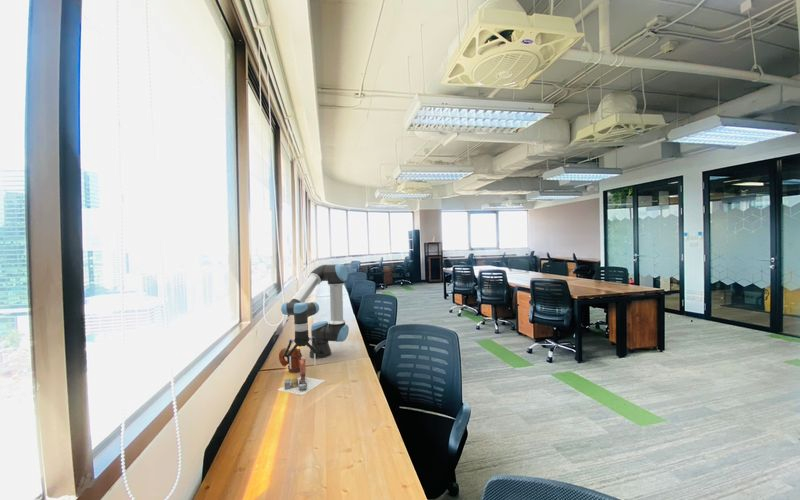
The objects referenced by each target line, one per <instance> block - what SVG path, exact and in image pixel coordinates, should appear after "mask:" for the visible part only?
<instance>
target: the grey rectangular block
mask: <svg viewBox="0 0 800 500" xmlns="http://www.w3.org/2000/svg"><path fill="white" fill-rule="evenodd" d="M291 380H292V379H291V378H287V379H284V383H283V384H284V387H285V390H286V389H291Z"/></svg>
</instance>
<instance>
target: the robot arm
mask: <svg viewBox="0 0 800 500" xmlns="http://www.w3.org/2000/svg"><path fill="white" fill-rule="evenodd" d="M347 279H348V270H347V268H346V266H345V265H343V264H340V263H338V264H337V263H336V264H321V265H319V266H317V267H315V268H314V269H313V270H311V271H310V273H309V274H308V275H307V279H306V280H305V281H304V282H303V284H302V285H301V287H300V288H299V289H298V290H297V291H296V293H295V294H294V295H293V297H292V298H291V299H290V301H287V302H284V303H282V304H281V308H280V311H281V313H282V314H283V315H287V316H293V318H294V319H293V320H294V322H293V324H294V325H293V326H294V327H293V328H294V338H293V339H291V338H290V339H288V345H287V347H286V351H285V353H284V358H286V361H287V362H288V363H290V369H291V356H290V355H291V354H292V353H293V351H294V350H295V349H296V348H297V349H298V347H299V348H301V347H305V346H306V347H308V348H309V349H310V350H309V357H310V358H312V359H313V360H314V361H313V362H314V364H313V365H314V366H317V362H316V361H317V360H318V359H322V358H326V357H329V356H331V355H332V350H331V346H330V344H329V342H336V343H339V342H341V343H342V342H345V341H346V340H347V337H348V336H349V332H350V329H349V328H350V327H349V325H348V324H346V320H344V306H343V305H344V303H343V302H344V301H343V299H344V297H343V296H344V295H343V294H344V293H343V286H344V284H345V282H346V281H347ZM322 282H327V285H328V286H329V292H330V293H329V301H330V302H329V303H330V305H329V306H330V321H327V320H324V321H319V322H314V323H313V324H311V329H310V331H311V333H310V334H311V337H309V330H308V329H309V322H308V321H309V320H308V318H309V317H312V316H314V315H316V314H318V312H320V306H319V304H318V303H317V302H315V301H312V302H311V301H310V302H306V301H307V299H308V298H309V296H310V295H311V294H312V292H313V291H314V289H315V288H316V287H317V285H320V284H321V283H322ZM310 342H311V343H310ZM292 344H294V346H293V347H292V348H291V346H292ZM290 348H291V349H290ZM288 350H291V351H290V352H289V353H288ZM287 353H288V354H287Z"/></svg>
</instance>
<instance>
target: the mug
mask: <svg viewBox="0 0 800 500" xmlns="http://www.w3.org/2000/svg"><path fill="white" fill-rule="evenodd" d="M286 349H287V347H284V348H282V349H280V351H279V353H278V359H279V363H280V364H281V366H282V367H286V366H287V369H288V373H291V374H294V373H300V360H301V359H302V357H303V354H302V352H301V348H298V347H297V348H296V349H295V350H294V351H293V353H292V354H291V355H290V356H291V369H290V363H288V362H287V359H286V357H284V353H285V351H286ZM290 351H291V349H289V350H288V353H289V352H290ZM288 353H287V354H288Z"/></svg>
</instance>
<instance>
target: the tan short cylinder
mask: <svg viewBox="0 0 800 500" xmlns="http://www.w3.org/2000/svg"><path fill="white" fill-rule="evenodd" d="M291 387H292V388H296V387H298V379H297V378H292V379H291Z"/></svg>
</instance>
